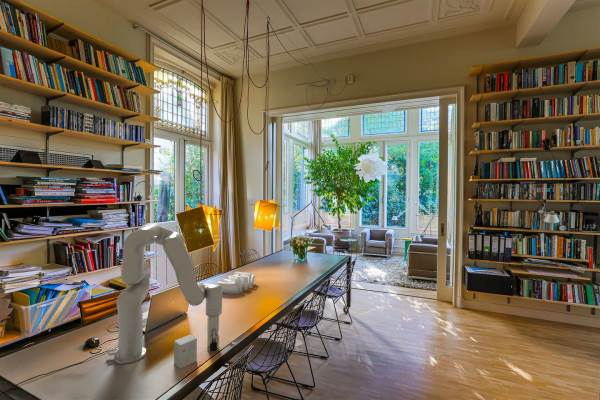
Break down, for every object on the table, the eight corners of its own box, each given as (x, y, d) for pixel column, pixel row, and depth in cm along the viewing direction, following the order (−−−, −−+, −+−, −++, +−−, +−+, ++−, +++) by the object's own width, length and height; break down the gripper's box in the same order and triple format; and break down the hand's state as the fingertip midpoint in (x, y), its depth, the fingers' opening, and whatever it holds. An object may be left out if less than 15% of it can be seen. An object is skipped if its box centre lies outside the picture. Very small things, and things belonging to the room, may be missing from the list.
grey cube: (207, 353, 135) (207, 340, 135) (207, 347, 141) (207, 334, 140) (219, 351, 137) (219, 338, 137) (218, 345, 142) (219, 333, 142)
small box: (190, 356, 132) (190, 333, 132) (197, 361, 129) (197, 338, 128) (173, 364, 126) (173, 340, 126) (179, 369, 123) (180, 345, 122)
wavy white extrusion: (231, 297, 206) (231, 283, 205) (214, 293, 213) (214, 279, 213) (259, 284, 237) (259, 271, 237) (243, 281, 244) (243, 268, 244)
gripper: (205, 304, 145) (204, 337, 146) (205, 318, 129) (205, 356, 129) (220, 302, 148) (220, 335, 148) (223, 317, 131) (222, 353, 132)
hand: (213, 345), depth 139 cm, fingers open, 9 cm apart
